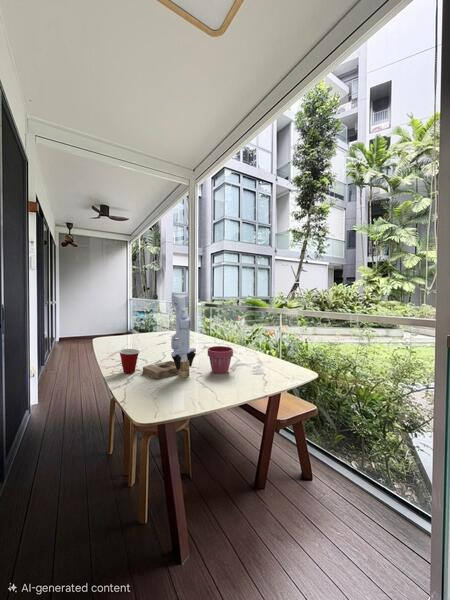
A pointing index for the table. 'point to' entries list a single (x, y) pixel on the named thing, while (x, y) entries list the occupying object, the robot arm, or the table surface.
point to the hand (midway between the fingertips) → (183, 367)
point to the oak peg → (184, 368)
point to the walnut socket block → (161, 370)
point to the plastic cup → (129, 360)
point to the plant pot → (220, 358)
